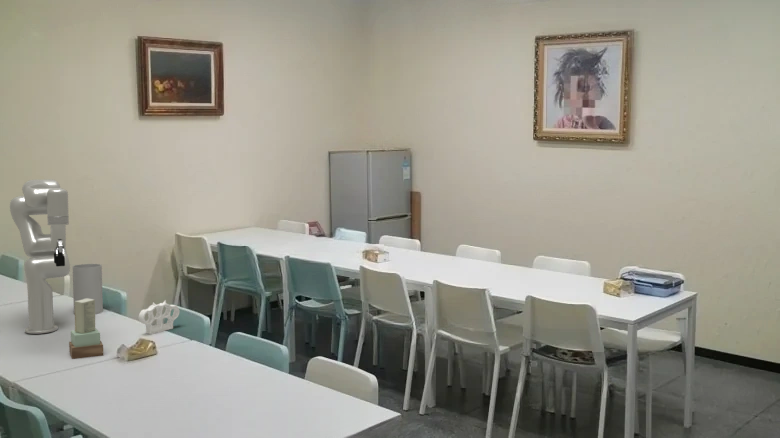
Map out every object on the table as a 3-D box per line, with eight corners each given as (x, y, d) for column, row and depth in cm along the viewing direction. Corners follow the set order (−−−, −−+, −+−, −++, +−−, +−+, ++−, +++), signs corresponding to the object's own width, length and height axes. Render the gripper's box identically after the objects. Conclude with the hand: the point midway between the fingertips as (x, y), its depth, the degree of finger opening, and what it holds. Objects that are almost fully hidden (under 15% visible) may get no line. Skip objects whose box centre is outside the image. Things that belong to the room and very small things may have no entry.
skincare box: (87, 328, 293) (87, 297, 291) (96, 330, 291) (95, 299, 289) (74, 332, 287) (73, 300, 286) (82, 334, 285) (82, 302, 284)
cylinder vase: (97, 315, 360) (96, 263, 358) (107, 319, 350) (105, 266, 348) (70, 318, 352) (68, 265, 350) (79, 323, 342) (77, 268, 340)
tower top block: (71, 342, 291) (70, 330, 290) (95, 339, 295) (95, 328, 295) (75, 347, 283) (74, 335, 283) (100, 344, 288) (100, 332, 287)
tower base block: (69, 353, 292) (69, 341, 291) (99, 349, 297) (99, 338, 297) (72, 360, 282) (71, 348, 282) (103, 356, 287) (103, 344, 287)
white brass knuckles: (180, 331, 327) (179, 298, 326) (143, 339, 313) (143, 304, 311) (175, 330, 329) (174, 297, 328) (139, 338, 315) (138, 303, 314)
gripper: (46, 219, 300) (47, 262, 301) (48, 223, 284) (50, 268, 286) (66, 218, 303) (68, 261, 305) (70, 222, 288) (71, 266, 289)
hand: (59, 264), depth 295 cm, fingers open, 9 cm apart
